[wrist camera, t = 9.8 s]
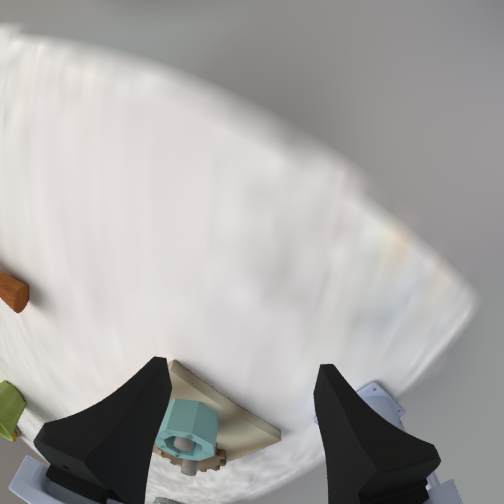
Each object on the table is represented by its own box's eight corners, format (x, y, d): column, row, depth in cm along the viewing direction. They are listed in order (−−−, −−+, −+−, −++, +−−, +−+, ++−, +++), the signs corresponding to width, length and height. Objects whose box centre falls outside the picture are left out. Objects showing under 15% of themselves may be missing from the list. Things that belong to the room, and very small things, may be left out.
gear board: (280, 430, 26) (282, 469, 21) (194, 464, 30) (188, 493, 25) (173, 359, 23) (157, 402, 18) (105, 410, 27) (89, 440, 22)
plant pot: (-4, 381, 29) (-26, 407, 21) (-1, 365, 27) (-27, 393, 19) (29, 415, 31) (10, 443, 23) (37, 404, 29) (14, 437, 21)
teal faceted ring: (229, 420, 24) (225, 451, 20) (195, 436, 25) (189, 463, 21) (185, 392, 23) (176, 424, 19) (154, 410, 24) (144, 439, 20)
